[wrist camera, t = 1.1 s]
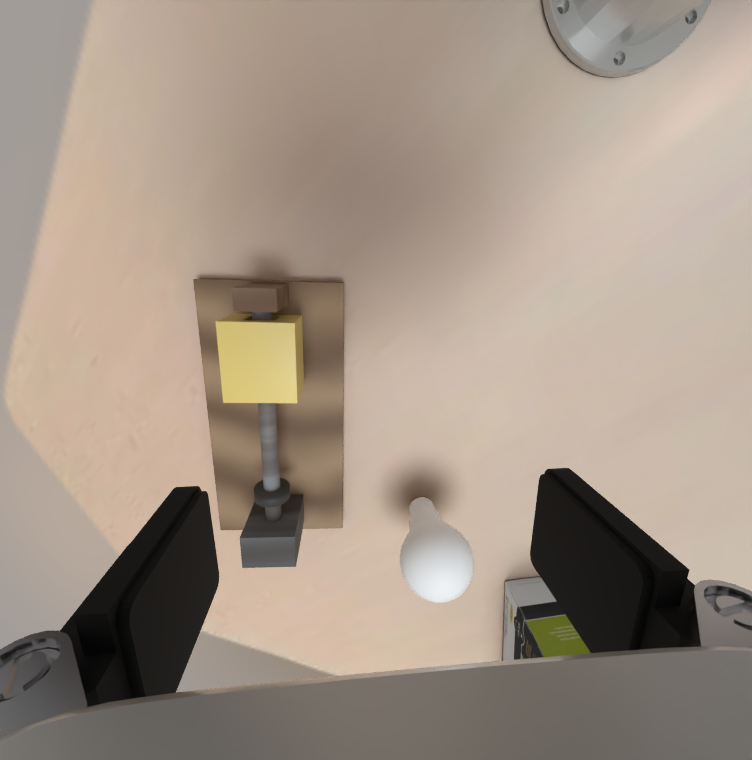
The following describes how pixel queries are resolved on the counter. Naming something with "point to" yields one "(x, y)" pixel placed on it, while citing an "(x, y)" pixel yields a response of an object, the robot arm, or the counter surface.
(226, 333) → the sleeve
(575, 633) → the tea box
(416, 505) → the lightbulb
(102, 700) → the robot arm
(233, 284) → the cable rail
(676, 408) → the counter surface
